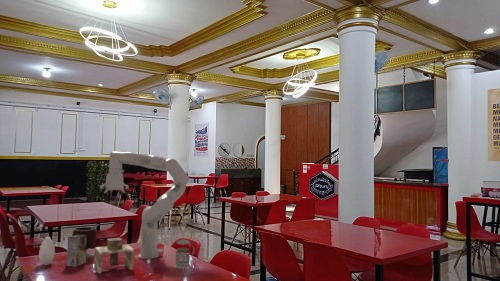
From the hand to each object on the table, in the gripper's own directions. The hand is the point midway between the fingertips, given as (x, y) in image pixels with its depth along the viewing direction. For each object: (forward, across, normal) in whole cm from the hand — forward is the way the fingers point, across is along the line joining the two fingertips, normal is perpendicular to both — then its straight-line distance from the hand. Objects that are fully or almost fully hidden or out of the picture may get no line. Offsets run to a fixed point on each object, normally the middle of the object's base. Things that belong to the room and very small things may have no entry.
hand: (113, 199), depth 236 cm
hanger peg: (+34, +3, +22) cm, 41 cm away
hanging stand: (+36, +3, +22) cm, 43 cm away
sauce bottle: (+36, +35, -2) cm, 51 cm away
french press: (+36, -34, +34) cm, 60 cm away
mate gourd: (+36, +13, -14) cm, 41 cm away
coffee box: (+36, +20, +4) cm, 42 cm away
